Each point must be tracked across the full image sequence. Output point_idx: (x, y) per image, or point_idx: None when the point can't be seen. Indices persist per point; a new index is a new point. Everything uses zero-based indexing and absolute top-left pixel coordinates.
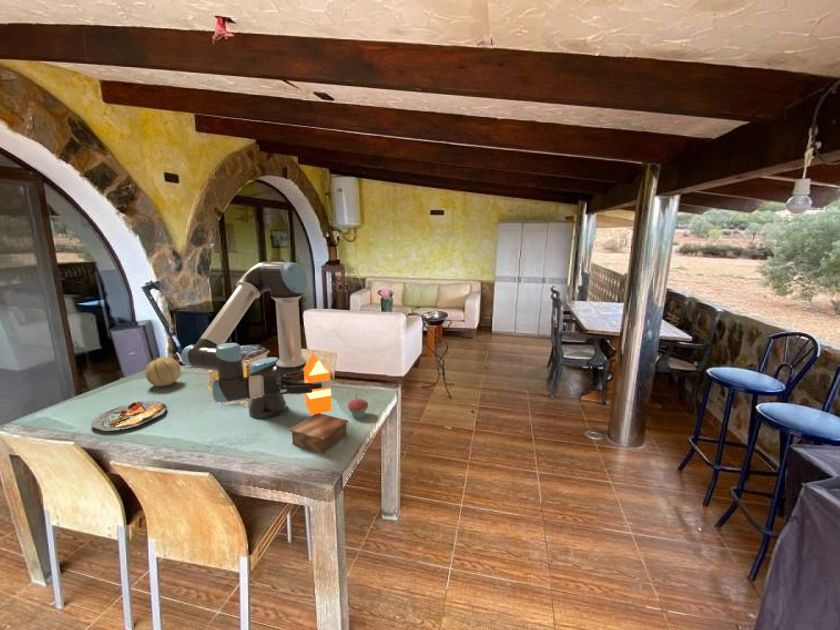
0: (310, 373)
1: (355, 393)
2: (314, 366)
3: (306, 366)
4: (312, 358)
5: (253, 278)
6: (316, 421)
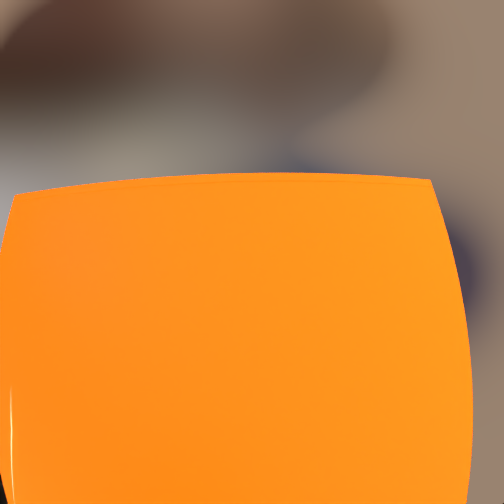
0: (449, 462)
1: None
2: (426, 330)
3: (61, 481)
4: (103, 266)
5: None
6: None
